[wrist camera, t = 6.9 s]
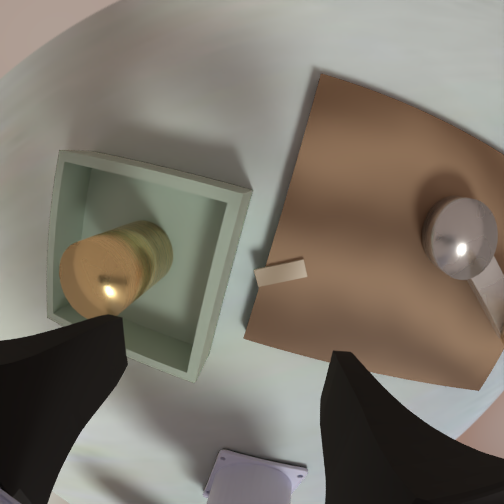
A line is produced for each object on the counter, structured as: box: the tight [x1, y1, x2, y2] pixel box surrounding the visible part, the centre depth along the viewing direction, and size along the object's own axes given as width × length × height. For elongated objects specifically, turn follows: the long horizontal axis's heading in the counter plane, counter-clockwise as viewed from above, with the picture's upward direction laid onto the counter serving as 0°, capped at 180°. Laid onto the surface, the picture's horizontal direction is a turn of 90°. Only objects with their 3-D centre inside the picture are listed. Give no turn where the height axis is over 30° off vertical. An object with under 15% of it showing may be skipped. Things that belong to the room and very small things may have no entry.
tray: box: [47, 150, 253, 383], centre depth 18 cm, size 11×11×4 cm
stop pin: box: [59, 220, 173, 319], centre depth 16 cm, size 4×4×6 cm
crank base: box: [244, 74, 504, 391], centre depth 17 cm, size 16×20×1 cm
